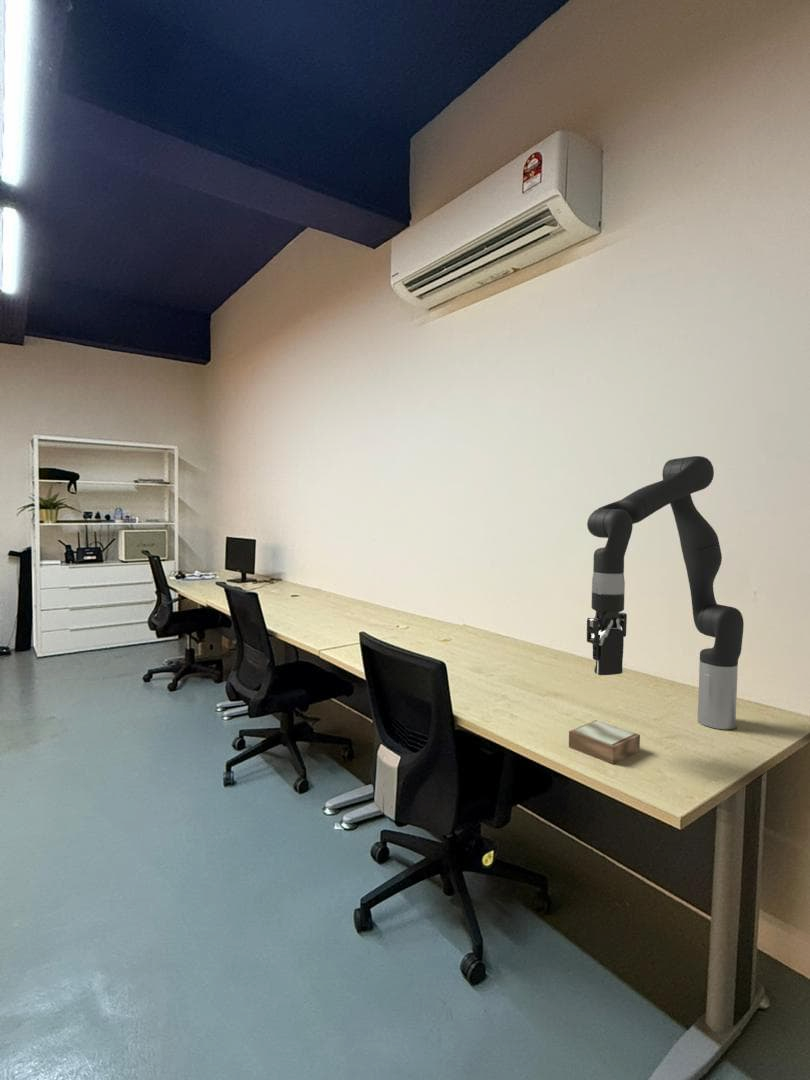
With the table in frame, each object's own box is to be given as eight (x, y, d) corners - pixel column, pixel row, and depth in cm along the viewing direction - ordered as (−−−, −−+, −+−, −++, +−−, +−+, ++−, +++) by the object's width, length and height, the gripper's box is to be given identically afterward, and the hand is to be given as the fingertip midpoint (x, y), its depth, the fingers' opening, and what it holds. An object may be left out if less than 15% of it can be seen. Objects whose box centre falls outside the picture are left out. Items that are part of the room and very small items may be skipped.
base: (595, 735, 145) (596, 719, 145) (639, 750, 135) (639, 733, 135) (568, 747, 137) (569, 730, 137) (612, 764, 128) (613, 746, 128)
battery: (613, 670, 138) (614, 625, 138) (623, 674, 135) (624, 628, 134) (589, 672, 137) (590, 626, 136) (599, 676, 133) (600, 629, 132)
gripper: (610, 586, 142) (608, 650, 143) (577, 591, 133) (576, 659, 134) (637, 590, 136) (636, 656, 137) (605, 595, 127) (604, 665, 128)
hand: (606, 657), depth 135 cm, fingers closed on battery, 7 cm apart
